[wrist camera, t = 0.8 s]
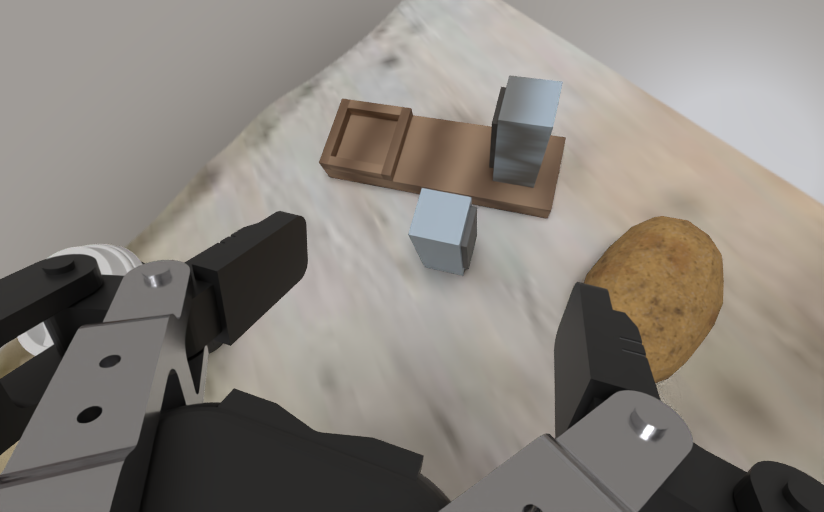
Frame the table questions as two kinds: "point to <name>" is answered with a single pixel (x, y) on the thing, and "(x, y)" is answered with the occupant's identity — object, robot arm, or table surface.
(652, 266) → the potato
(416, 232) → the block
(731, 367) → the table surface
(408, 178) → the wooden block holder
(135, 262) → the coffee cup
